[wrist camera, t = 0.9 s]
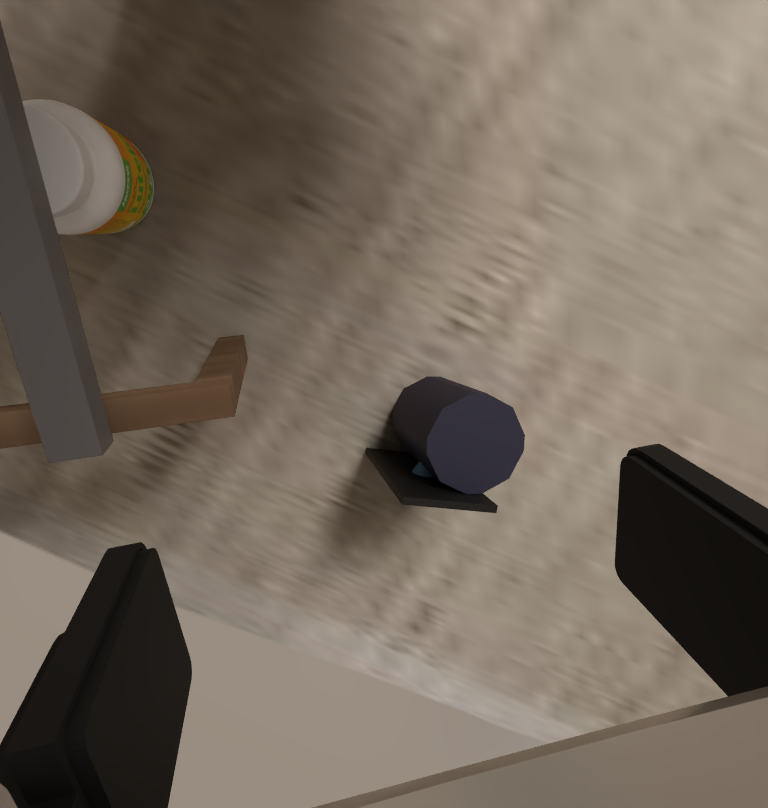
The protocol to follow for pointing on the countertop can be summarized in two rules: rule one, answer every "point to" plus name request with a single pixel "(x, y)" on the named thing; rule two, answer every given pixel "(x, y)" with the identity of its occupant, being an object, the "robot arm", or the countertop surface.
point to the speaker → (450, 446)
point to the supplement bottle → (88, 170)
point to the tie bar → (42, 296)
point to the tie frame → (154, 399)
